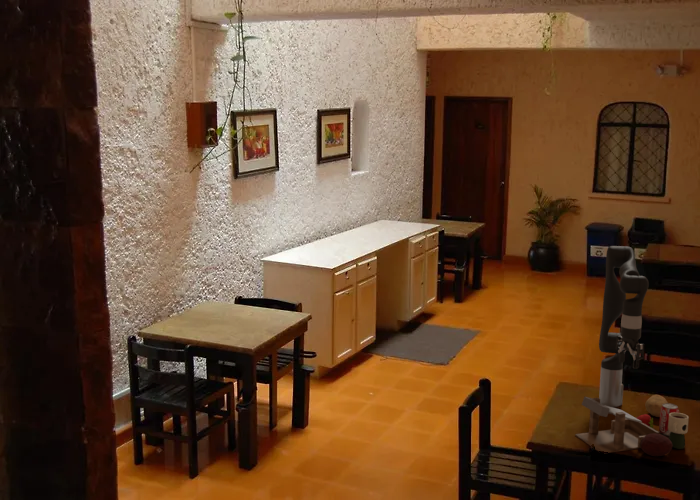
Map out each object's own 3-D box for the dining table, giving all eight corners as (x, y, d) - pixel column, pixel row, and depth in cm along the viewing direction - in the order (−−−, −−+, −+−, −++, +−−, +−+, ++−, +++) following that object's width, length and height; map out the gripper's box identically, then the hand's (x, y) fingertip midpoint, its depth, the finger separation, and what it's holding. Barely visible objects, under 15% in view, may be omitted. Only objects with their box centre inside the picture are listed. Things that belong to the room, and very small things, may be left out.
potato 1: (643, 419, 326) (644, 401, 324) (645, 408, 338) (646, 391, 337) (668, 423, 322) (669, 405, 320) (669, 411, 334) (670, 394, 333)
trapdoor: (619, 414, 310) (622, 406, 309) (640, 426, 297) (643, 418, 297) (580, 404, 303) (583, 396, 303) (600, 415, 291) (603, 407, 291)
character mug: (682, 454, 291) (684, 421, 289) (662, 449, 295) (665, 417, 293) (689, 444, 299) (692, 413, 297) (670, 440, 304) (673, 409, 302)
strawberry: (636, 419, 320) (660, 421, 314) (632, 433, 315) (656, 435, 309) (632, 410, 318) (656, 411, 311) (628, 423, 313) (652, 425, 306)
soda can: (654, 431, 312) (656, 403, 311) (668, 429, 315) (670, 401, 313) (667, 438, 306) (669, 409, 304) (681, 435, 308) (683, 407, 307)
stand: (629, 428, 315) (631, 393, 313) (658, 445, 298) (661, 409, 296) (575, 435, 308) (577, 400, 305) (602, 453, 291) (604, 416, 288)
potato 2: (669, 451, 294) (671, 430, 292) (673, 463, 283) (675, 442, 282) (638, 447, 297) (639, 427, 295) (641, 459, 286) (642, 438, 285)
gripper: (651, 329, 291) (648, 370, 294) (627, 320, 304) (625, 359, 307) (634, 330, 289) (632, 371, 291) (611, 321, 302) (609, 360, 305)
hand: (628, 365), depth 299 cm, fingers open, 8 cm apart
